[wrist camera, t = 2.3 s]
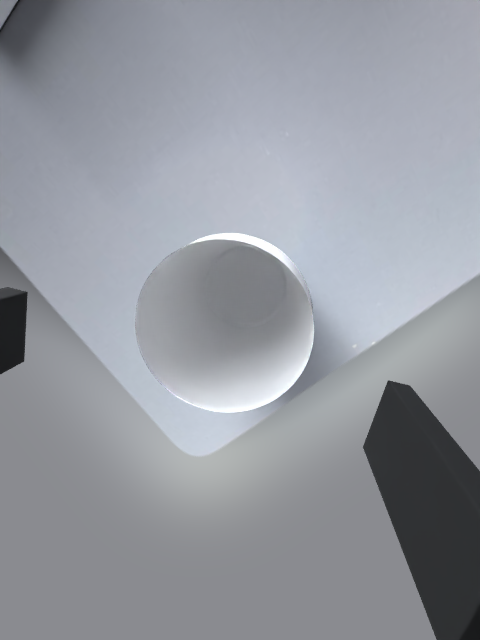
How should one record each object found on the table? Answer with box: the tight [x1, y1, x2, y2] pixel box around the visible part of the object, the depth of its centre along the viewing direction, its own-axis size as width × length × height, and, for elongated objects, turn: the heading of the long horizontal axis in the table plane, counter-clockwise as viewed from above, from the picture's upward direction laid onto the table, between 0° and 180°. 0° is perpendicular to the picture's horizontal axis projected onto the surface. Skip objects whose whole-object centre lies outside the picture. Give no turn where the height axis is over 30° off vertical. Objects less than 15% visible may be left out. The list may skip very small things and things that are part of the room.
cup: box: [135, 233, 314, 412], centre depth 23 cm, size 9×9×12 cm
